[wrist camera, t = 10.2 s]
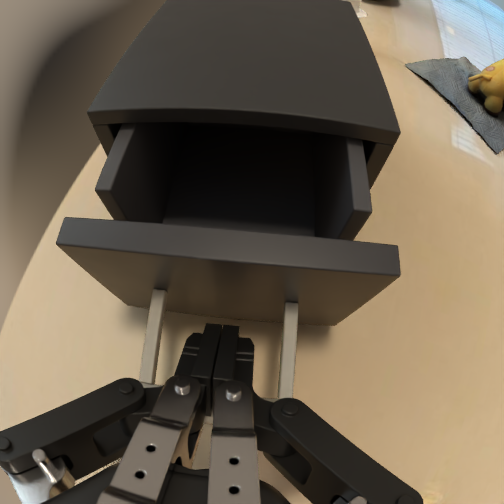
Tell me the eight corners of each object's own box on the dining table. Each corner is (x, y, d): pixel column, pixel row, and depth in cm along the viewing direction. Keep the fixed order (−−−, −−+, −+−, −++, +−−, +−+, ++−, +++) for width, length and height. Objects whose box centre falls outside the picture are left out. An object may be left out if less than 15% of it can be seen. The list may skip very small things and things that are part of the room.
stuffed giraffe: (535, 126, 31) (579, 55, 16) (494, 157, 27) (559, 54, 13) (464, 60, 37) (492, -14, 22) (402, 71, 33) (432, -32, 19)
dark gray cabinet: (339, 242, 22) (401, 133, 12) (142, 224, 22) (85, 112, 12) (327, 96, 28) (350, 1, 18) (187, 86, 28) (175, -10, 18)
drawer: (330, 420, 16) (400, 442, 8) (113, 396, 16) (24, 393, 8) (329, 140, 24) (356, 49, 16) (173, 128, 24) (155, 37, 16)
